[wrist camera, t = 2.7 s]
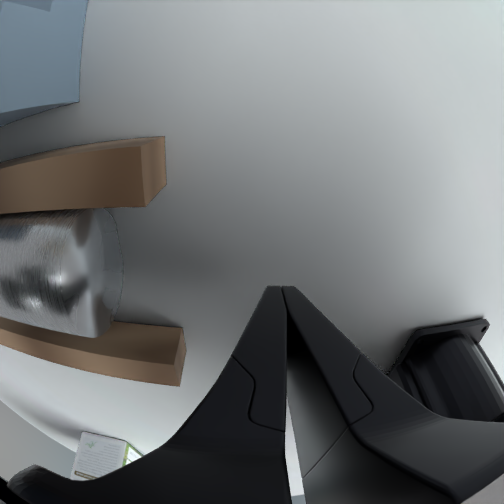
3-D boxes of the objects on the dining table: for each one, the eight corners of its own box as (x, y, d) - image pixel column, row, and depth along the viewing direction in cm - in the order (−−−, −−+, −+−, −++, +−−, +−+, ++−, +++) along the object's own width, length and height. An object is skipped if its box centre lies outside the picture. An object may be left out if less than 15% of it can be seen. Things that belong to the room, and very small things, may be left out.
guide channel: (164, 136, 7) (140, 146, 6) (186, 350, 12) (179, 386, 10) (-49, 179, 7) (-73, 193, 5) (-2, 316, 11) (-17, 337, 10)
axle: (124, 211, 9) (61, 199, 5) (125, 317, 10) (71, 357, 6) (-21, 219, 9) (-73, 217, 5) (-19, 292, 9) (-68, 305, 5)
